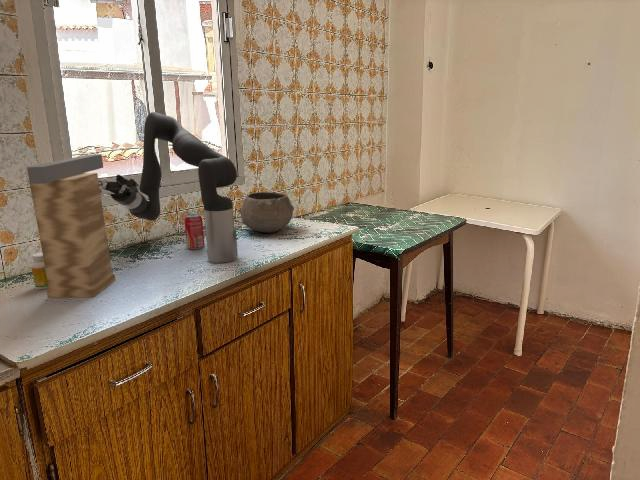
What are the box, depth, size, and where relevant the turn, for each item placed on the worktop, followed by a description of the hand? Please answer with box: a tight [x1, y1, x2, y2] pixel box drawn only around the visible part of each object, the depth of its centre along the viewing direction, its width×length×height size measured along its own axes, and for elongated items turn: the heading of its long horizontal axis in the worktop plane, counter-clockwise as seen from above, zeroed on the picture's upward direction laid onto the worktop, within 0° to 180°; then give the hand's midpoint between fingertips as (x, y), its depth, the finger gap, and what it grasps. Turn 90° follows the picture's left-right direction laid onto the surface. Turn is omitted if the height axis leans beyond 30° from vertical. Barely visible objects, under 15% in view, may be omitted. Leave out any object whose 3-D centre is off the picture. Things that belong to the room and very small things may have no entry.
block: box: [26, 153, 104, 185], centre depth 132 cm, size 4×30×4 cm, turn 178°
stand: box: [28, 172, 116, 298], centre depth 134 cm, size 13×13×32 cm
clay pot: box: [238, 191, 295, 234], centre depth 194 cm, size 21×21×15 cm
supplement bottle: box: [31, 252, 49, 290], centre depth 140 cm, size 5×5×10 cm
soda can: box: [183, 213, 206, 250], centre depth 175 cm, size 6×6×12 cm
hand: (104, 177), depth 152 cm, fingers open, 8 cm apart
